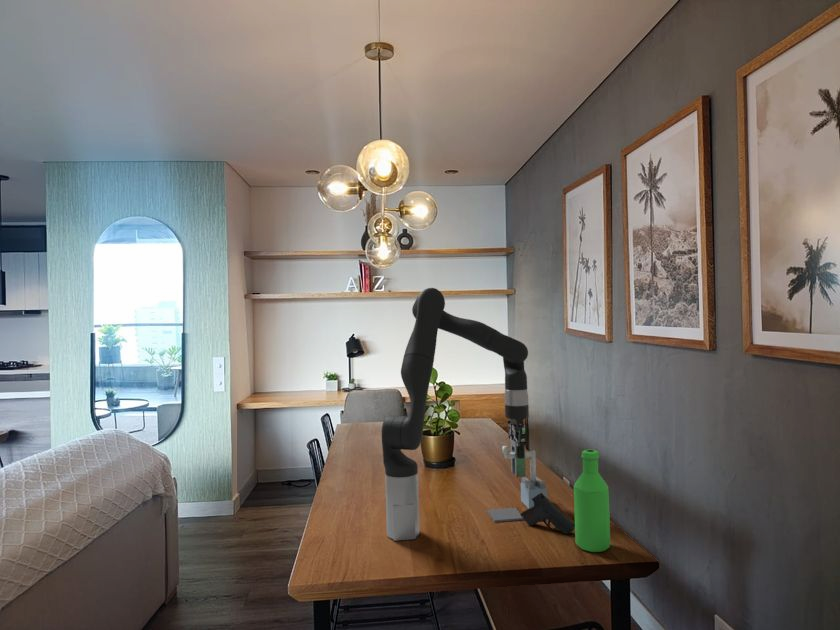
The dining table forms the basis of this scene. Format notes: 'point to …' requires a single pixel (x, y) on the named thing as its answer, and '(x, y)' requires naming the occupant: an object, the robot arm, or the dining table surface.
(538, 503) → the handgun
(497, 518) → the mat
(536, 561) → the dining table surface
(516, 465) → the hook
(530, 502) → the grey hanging stand
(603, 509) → the bottle
